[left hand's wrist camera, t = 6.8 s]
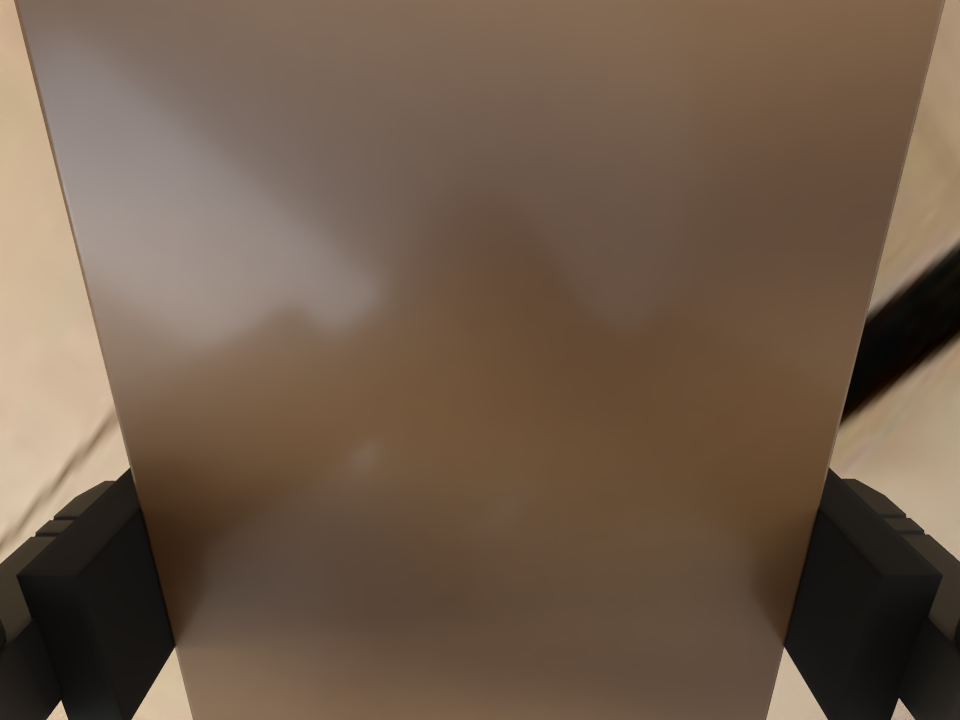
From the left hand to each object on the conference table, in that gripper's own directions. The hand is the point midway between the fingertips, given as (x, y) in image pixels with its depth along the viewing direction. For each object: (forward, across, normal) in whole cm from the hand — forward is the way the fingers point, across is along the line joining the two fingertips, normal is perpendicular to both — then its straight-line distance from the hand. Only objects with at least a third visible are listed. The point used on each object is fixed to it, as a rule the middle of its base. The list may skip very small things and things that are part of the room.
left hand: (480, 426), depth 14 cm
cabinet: (+3, 0, -6) cm, 7 cm away
